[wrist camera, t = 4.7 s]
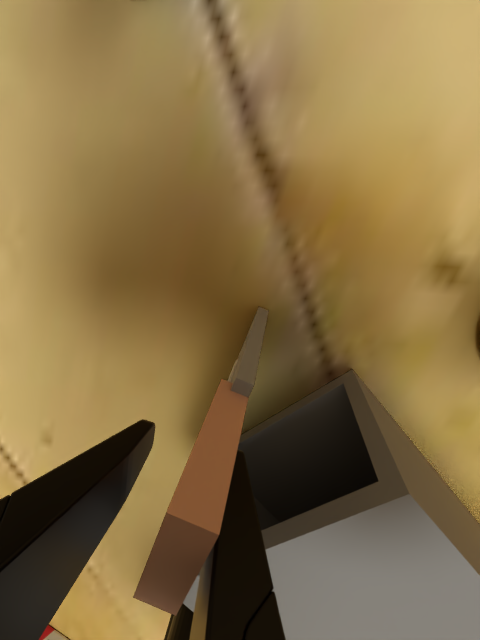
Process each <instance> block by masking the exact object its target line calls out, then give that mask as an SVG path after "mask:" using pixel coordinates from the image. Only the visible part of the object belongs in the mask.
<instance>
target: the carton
mask: <svg viewBox="0 0 480 640" xmlns="http://www.w3.org/2000/svg"><path fill="white" fill-rule="evenodd" d="M238 450H241V451H243V452H244V454H245V459H246V463H247V468H248V473H249V477H250V482H251V486H252V491H253V495H254V500H255V504H256V509H257V514H258V518H259V523H260V527H261V532H262V536H263V541H264V545H265V550H266V555H267V559H268V564H269V568H270V573H271V577H272V582H273V586H274V589H273V591H274V592H275V595H276V599H277V604H278V608H279V613H280V617H281V621H282V626H283V630H284V634H285V638H286V640H480V524H479V523H478V522H477V521H476V519H475V518H474V517H473V516H472V515H471V513H470V512H469V511H468V510H467V508H466V507H465V506H464V505H463V504H462V502H461V501H460V500H459V499H458V498H457V496H456V495H455V494H454V493H453V491H452V490H451V489H450V488H449V487H448V485H447V484H446V483H445V482H444V480H443V479H442V478H441V477H440V476H439V474H438V473H437V472H436V471H435V469H434V468H433V467H432V466H431V465H430V463H429V462H428V461H427V460H426V458H425V457H424V456H423V455H422V454H421V452H420V451H419V450H418V449H417V447H416V446H415V445H414V444H413V443H412V441H411V440H410V439H409V438H408V436H407V435H406V434H405V433H404V432H403V430H402V429H401V428H400V427H399V425H398V424H397V423H396V422H395V421H394V419H393V418H392V417H391V416H390V414H389V413H388V412H387V411H386V410H385V408H384V407H383V406H382V405H381V403H380V402H379V401H378V400H377V399H376V397H375V396H374V395H373V394H372V392H371V391H370V390H369V389H368V388H367V386H366V385H365V384H364V383H363V382H362V380H361V379H360V378H359V377H358V375H357V374H356V373H355V372H354V371H353V369H352V370H350V371H348V372H347V373H345V374H343V375H342V376H340V377H338V378H337V379H335V380H333V381H331V382H330V383H328V384H326V385H325V386H323V387H321V388H320V389H318V390H316V391H315V392H313V393H311V394H309V395H308V396H306V397H304V398H303V399H301V400H299V401H298V402H296V403H294V404H293V405H291V406H289V407H288V408H286V409H284V410H282V411H281V412H279V413H277V414H276V415H274V416H272V417H271V418H269V419H267V420H266V421H264V422H262V423H260V424H259V425H257V426H255V427H254V428H252V429H250V430H249V431H247V432H245V433H244V434H242V435H240V440H239V444H238ZM200 573H201V570H200V572H199V574H198V576H197V577H196V579H195V581H194V583H193V585H192V587H191V589H190V590H189V592H188V594H187V596H186V598H185V600H184V602H183V604H184V605H185V606H187V607H188V608H189V609H190V610H191V611H192V612H194V609H195V603H196V597H197V591H198V585H199V579H200Z"/></svg>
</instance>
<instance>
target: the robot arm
mask: <svg viewBox="0 0 480 640" xmlns="http://www.w3.org/2000/svg"><path fill="white" fill-rule="evenodd" d="M154 433H155V423H153V422H150V421H147V420H140V421H138V422H136V423H135V424H133V425H131V426H129V427H128V428H126V429H124V430H122V431H121V432H119V433H117V434H115V435H113V436H112V437H110V438H108V439H106V440H105V441H103V442H101V443H99V444H98V445H96V446H94V447H92V448H90V449H89V450H87V451H85V452H83V453H82V454H80V455H78V456H76V457H75V458H73V459H71V460H69V461H67V462H66V463H64V464H62V465H60V466H59V467H57V468H55V469H53V470H52V471H50V472H48V473H46V474H44V475H43V476H41V477H39V478H37V479H36V480H34V481H32V482H30V483H29V484H27V485H25V486H23V487H21V488H20V489H18V490H16V491H14V492H13V493H12V494H11V496H10V495H7V496H5V497H4V498H2V499H0V640H39V639H40V637H41V635H42V634H43V632H44V631H45V629H46V627H47V626H48V624H49V623H50V621H51V619H52V618H53V616H54V615H55V613H56V611H57V610H58V608H59V607H60V605H61V603H62V602H63V600H64V599H65V597H66V595H67V594H68V592H69V591H70V589H71V587H72V586H73V584H74V583H75V581H76V579H77V578H78V576H79V575H80V573H81V572H82V570H83V568H84V567H85V565H86V564H87V562H88V560H89V559H90V557H91V556H92V554H93V552H94V551H95V549H96V548H97V546H98V544H99V543H100V541H101V540H102V538H103V536H104V535H105V533H106V532H107V530H108V528H109V527H110V525H111V524H112V522H113V520H114V519H115V517H116V516H117V514H118V512H119V511H120V509H121V508H122V506H123V504H124V502H125V501H126V499H127V497H128V495H129V493H130V491H131V489H132V487H133V485H134V483H135V481H136V479H137V477H138V475H139V473H140V471H141V469H142V467H143V465H144V463H145V461H146V459H147V457H148V455H149V453H150V451H151V448H152V445H153V440H154ZM273 589H274V586H273V582H272V577H271V573H270V568H269V564H268V559H267V555H266V550H265V545H264V541H263V536H262V532H261V527H260V523H259V518H258V514H257V509H256V504H255V500H254V495H253V491H252V486H251V482H250V477H249V473H248V468H247V463H246V459H245V454H244V452H243V451H241V450H238V449H237V454H236V459H235V463H234V468H233V473H232V477H231V482H230V487H229V491H228V496H227V501H226V505H225V510H224V515H223V520H222V524H221V529H220V534H219V536H218V538H217V540H216V542H215V544H214V546H213V548H212V549H211V551H210V553H209V555H208V557H207V559H206V561H205V562H204V564H203V566H202V568H201V573H200V579H199V585H198V591H197V597H196V603H195V609H194V612H192V611H191V610H190V609H189V608H188V607H187V606H185V605H184V604H182V605H181V607H180V609H179V611H178V613H177V615H176V616H175V615H173V614H171V618H170V621H169V625H168V628H167V632H166V635H165V638H164V640H286V638H285V634H284V630H283V626H282V621H281V617H280V613H279V608H278V604H277V599H276V595H275V592H274V591H273Z"/></svg>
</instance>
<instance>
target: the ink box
mask: <svg viewBox="0 0 480 640" xmlns="http://www.w3.org/2000/svg"><path fill="white" fill-rule="evenodd" d="M39 640H69V639H68V638H66V637H65V636H63V635H62V634H61V633H59V632H58V631H56V630H55V629H53V628H52V627H51V626H49V625H48V626H47V627H46V629H45V631H44V632H43V634H42V635H41V637H40V639H39Z"/></svg>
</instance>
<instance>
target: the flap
mask: <svg viewBox="0 0 480 640" xmlns="http://www.w3.org/2000/svg"><path fill="white" fill-rule="evenodd" d="M268 312H269V310H266V309H263V308H261V307H258V310H257V312H256V315H255V317H254V320H253V322H252V324H251V327H250V329H249V332H248V334H247V337H246V339H245V342H244V344H243V346H242V349H241V351H240V354H239V356H238V359H236V361H235V363H234V366H233V368H232V371H231V373H230V376H229V378H228V381H226V380H223V379H221V381H220V384H219V386H218V389H217V391H216V393H215V396H214V398H213V401H212V403H211V405H210V408H209V410H208V413H207V415H206V418H205V420H204V422H203V425H202V427H201V430H200V432H199V435H198V437H197V439H196V442H195V444H194V447H193V449H192V452H191V454H190V456H189V459H188V461H187V464H186V466H185V468H184V471H183V473H182V476H181V478H180V481H179V483H178V485H177V488H176V490H175V493H174V495H173V498H172V500H171V502H170V505H169V507H168V510H167V512H166V515H165V517H164V520H163V522H162V525H161V527H160V530H159V533H158V535H157V538H156V540H155V543H154V545H153V548H152V550H151V553H150V555H149V558H148V561H147V563H146V566H145V568H144V571H143V573H142V576H141V578H140V581H139V584H138V586H137V589H136V591H135V594H134V596H133V598H136V599H138V600H140V601H143V602H145V603H147V604H150V605H152V606H154V607H157V608H159V609H161V610H164V611H166V612H168V613H171V614H173V615H175V616H176V615H177V613H178V611H179V609H180V607H181V605H182V604H183V602H184V600H185V598H186V596H187V594H188V592H189V590H190V589H191V587H192V585H193V583H194V581H195V579H196V577H197V576H198V574H199V572H200V570H201V568H202V566H203V564H204V562H205V561H206V559H207V557H208V555H209V553H210V551H211V549H212V548H213V546H214V544H215V542H216V540H217V538H218V536H219V534H220V529H221V524H222V520H223V515H224V510H225V505H226V501H227V496H228V491H229V487H230V482H231V477H232V473H233V468H234V463H235V459H236V454H237V449H238V444H239V440H240V435H241V430H242V426H243V421H244V416H245V412H246V407H247V402H248V398H249V395H250V393H251V391H252V389H253V387H254V384H255V378H256V373H257V368H258V363H259V358H260V353H261V348H262V342H263V337H264V332H265V327H266V322H267V317H268Z"/></svg>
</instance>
